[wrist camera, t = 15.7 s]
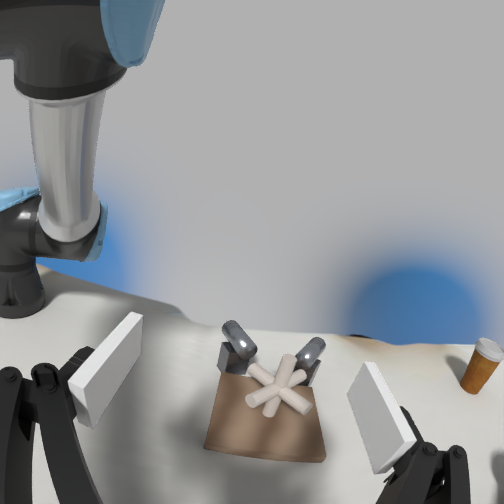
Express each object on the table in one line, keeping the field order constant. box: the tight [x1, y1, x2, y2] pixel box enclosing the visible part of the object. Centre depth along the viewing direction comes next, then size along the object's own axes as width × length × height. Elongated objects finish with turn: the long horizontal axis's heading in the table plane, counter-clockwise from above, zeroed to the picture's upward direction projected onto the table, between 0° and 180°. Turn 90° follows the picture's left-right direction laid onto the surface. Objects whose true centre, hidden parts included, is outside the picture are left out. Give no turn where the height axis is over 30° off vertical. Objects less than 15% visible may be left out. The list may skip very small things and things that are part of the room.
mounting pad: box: [204, 372, 326, 462], centre depth 33 cm, size 15×15×2 cm
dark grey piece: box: [292, 337, 326, 387], centre depth 43 cm, size 7×4×8 cm, turn 148°
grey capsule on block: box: [217, 320, 257, 375], centre depth 43 cm, size 7×4×8 cm, turn 28°
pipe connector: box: [245, 354, 313, 417], centre depth 32 cm, size 10×10×10 cm
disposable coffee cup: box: [460, 338, 504, 394], centre depth 42 cm, size 10×10×12 cm
